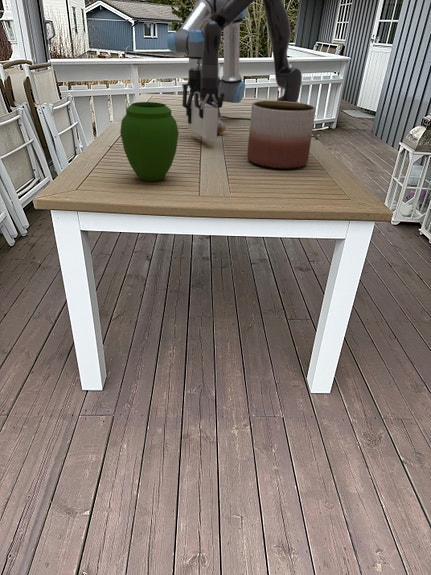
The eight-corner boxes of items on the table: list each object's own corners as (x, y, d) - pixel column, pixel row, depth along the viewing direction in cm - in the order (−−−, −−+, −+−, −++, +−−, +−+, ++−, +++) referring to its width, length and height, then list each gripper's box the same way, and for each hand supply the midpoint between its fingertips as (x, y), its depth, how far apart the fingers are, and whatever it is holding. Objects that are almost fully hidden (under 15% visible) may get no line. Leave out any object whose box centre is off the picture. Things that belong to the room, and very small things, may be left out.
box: (187, 128, 203) (187, 100, 197) (198, 127, 205) (198, 100, 199) (205, 139, 184) (205, 108, 178) (216, 138, 186) (218, 108, 180)
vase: (131, 189, 135) (125, 110, 122) (118, 172, 150) (112, 100, 137) (186, 184, 142) (187, 109, 129) (169, 168, 157) (167, 99, 144)
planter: (316, 170, 164) (326, 111, 152) (255, 170, 160) (260, 110, 148) (295, 154, 185) (303, 101, 173) (241, 154, 181) (245, 99, 169)
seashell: (224, 133, 216) (225, 117, 212) (226, 135, 212) (227, 119, 207) (206, 132, 215) (207, 116, 211) (208, 135, 210) (208, 118, 206)
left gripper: (179, 69, 181) (179, 125, 193) (218, 70, 187) (216, 123, 200) (174, 68, 187) (175, 122, 199) (212, 68, 193) (210, 121, 205)
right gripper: (196, 76, 170) (196, 120, 179) (228, 77, 175) (226, 119, 184) (190, 75, 176) (190, 116, 185) (221, 75, 181) (219, 116, 190)
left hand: (195, 122), depth 199 cm, fingers closed on box, 6 cm apart
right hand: (208, 117), depth 184 cm, fingers closed on box, 5 cm apart
